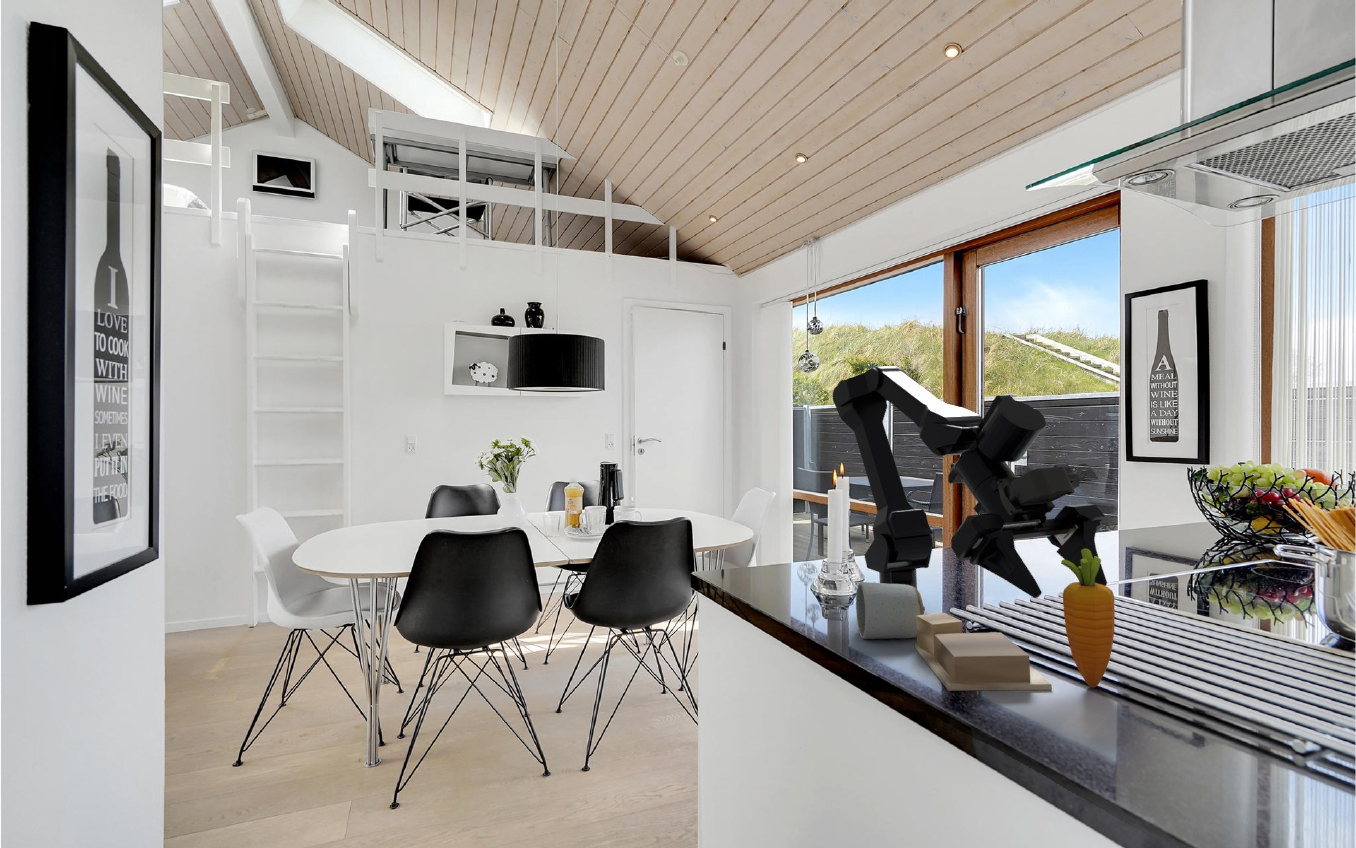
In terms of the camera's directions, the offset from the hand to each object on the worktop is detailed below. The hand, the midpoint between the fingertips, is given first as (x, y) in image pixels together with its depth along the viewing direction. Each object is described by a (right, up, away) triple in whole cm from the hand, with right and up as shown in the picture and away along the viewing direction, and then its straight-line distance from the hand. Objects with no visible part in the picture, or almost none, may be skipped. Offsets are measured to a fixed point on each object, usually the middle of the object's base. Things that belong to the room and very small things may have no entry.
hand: (1071, 591), depth 75 cm
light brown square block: (-9, -10, +3) cm, 14 cm away
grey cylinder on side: (-15, -11, +19) cm, 27 cm away
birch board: (-8, -11, +5) cm, 14 cm away
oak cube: (-11, -10, +10) cm, 18 cm away
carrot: (+1, -10, -2) cm, 11 cm away
